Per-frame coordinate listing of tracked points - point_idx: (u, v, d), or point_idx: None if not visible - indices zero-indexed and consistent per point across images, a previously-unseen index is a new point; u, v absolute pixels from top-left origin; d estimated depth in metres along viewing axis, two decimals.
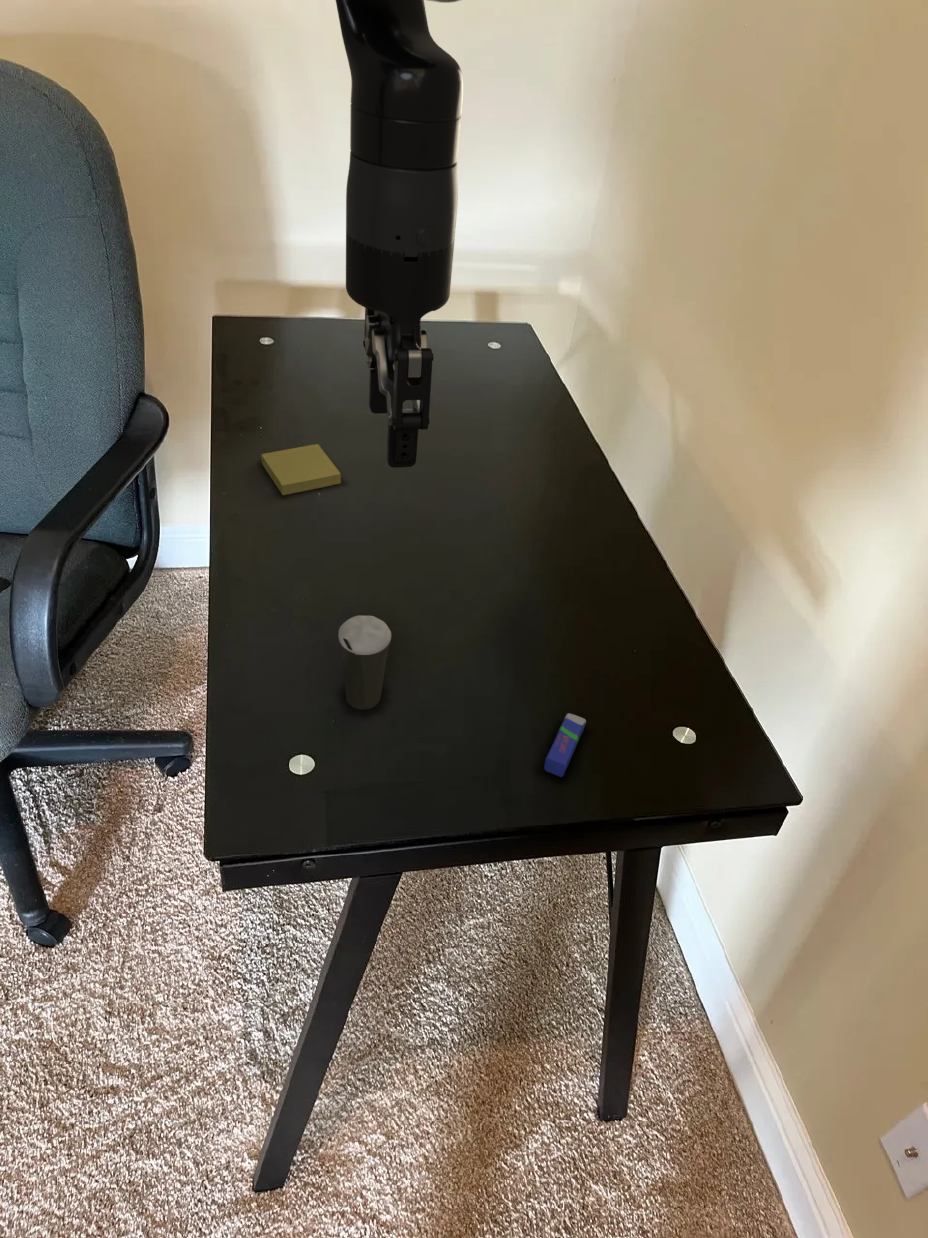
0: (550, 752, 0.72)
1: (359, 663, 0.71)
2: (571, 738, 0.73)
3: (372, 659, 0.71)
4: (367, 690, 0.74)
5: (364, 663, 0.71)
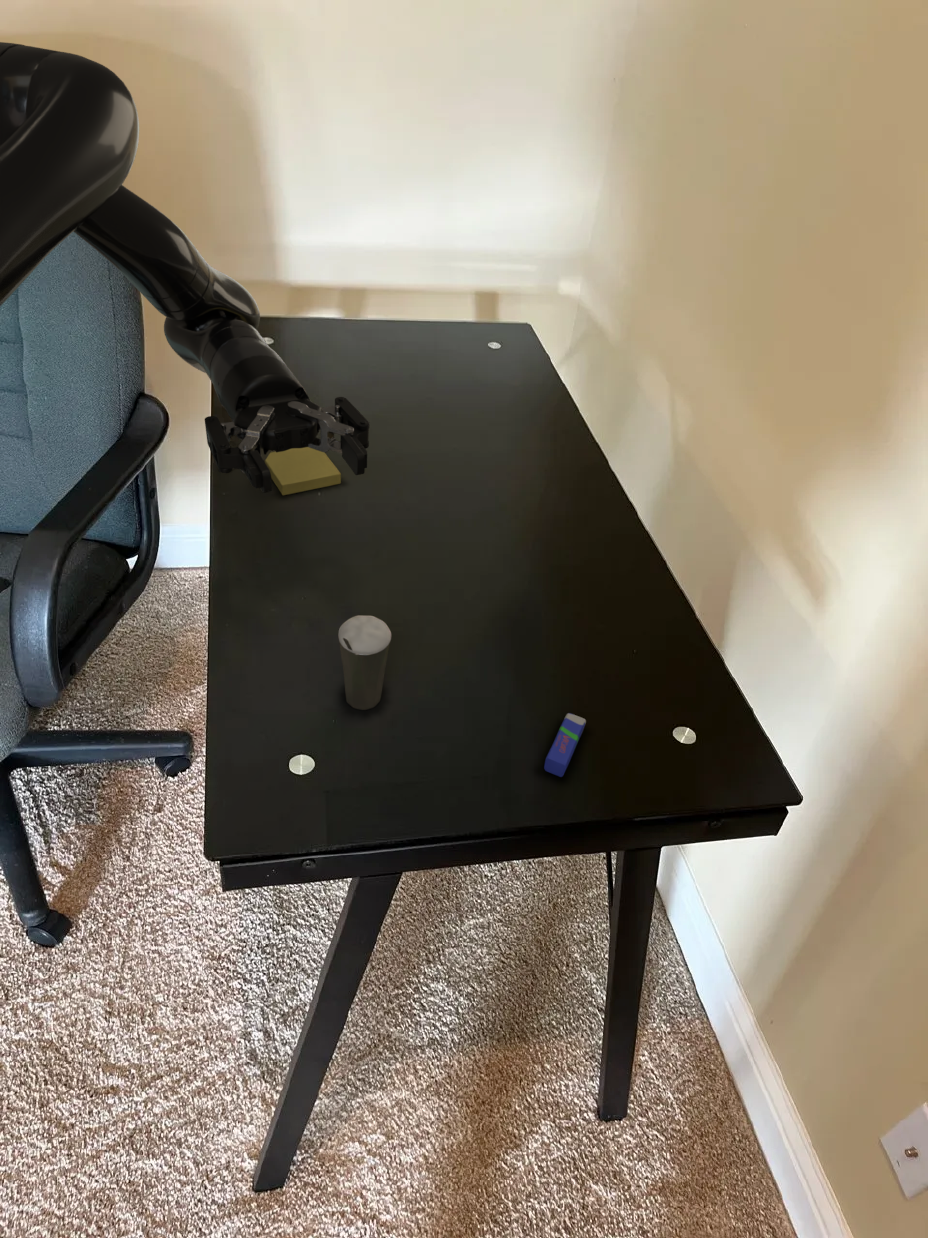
0: (550, 752, 0.72)
1: (359, 663, 0.71)
2: (571, 738, 0.73)
3: (372, 659, 0.71)
4: (367, 690, 0.74)
5: (364, 663, 0.71)
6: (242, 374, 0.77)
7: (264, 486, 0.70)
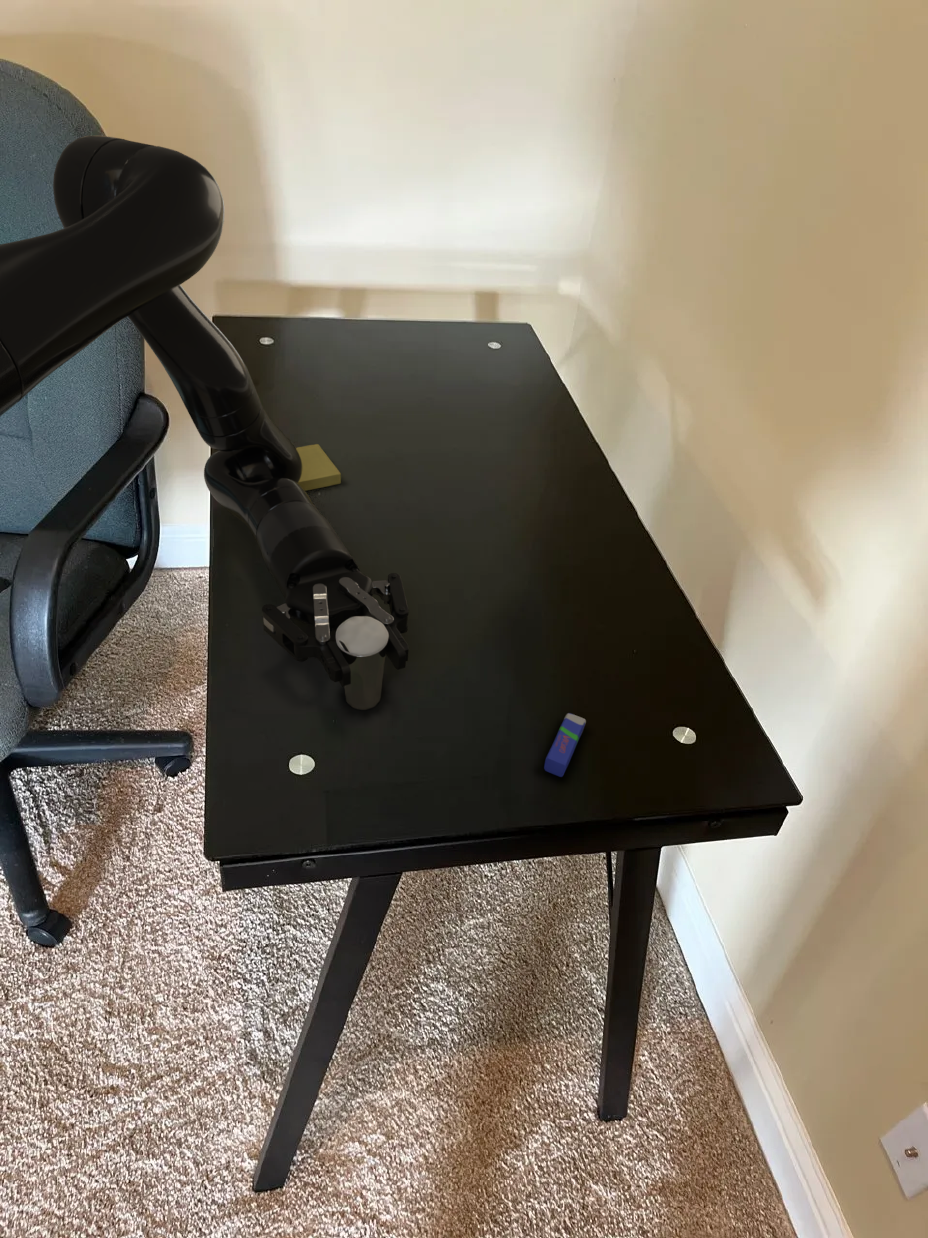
0: (550, 752, 0.72)
1: (357, 665, 0.71)
2: (571, 738, 0.73)
3: (370, 660, 0.71)
4: (366, 691, 0.74)
5: (362, 664, 0.71)
6: (292, 549, 0.77)
7: (343, 681, 0.70)
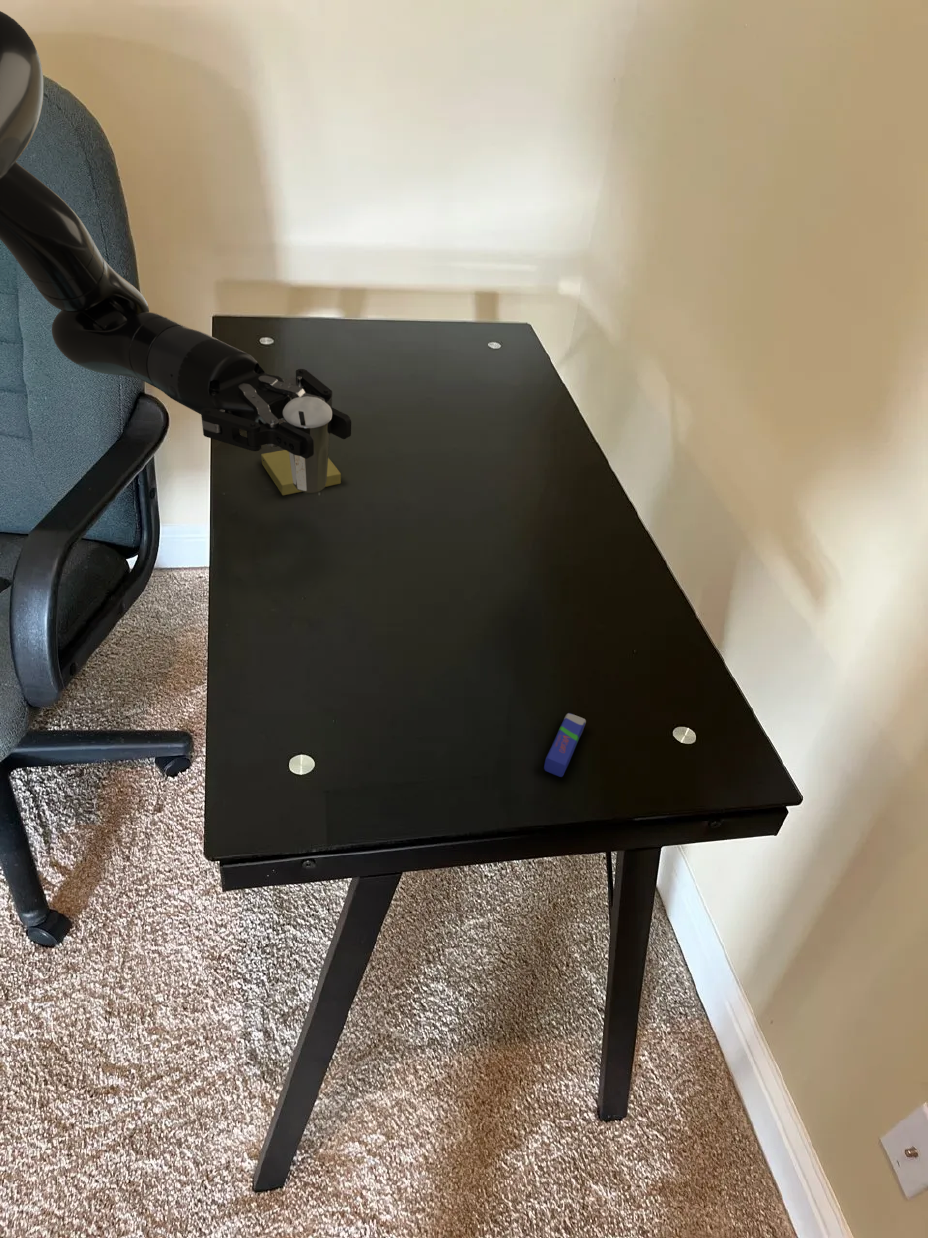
0: (550, 752, 0.72)
1: None
2: (571, 738, 0.73)
3: (323, 431, 0.77)
4: (319, 468, 0.80)
5: (317, 437, 0.77)
6: (203, 360, 0.79)
7: (308, 452, 0.76)
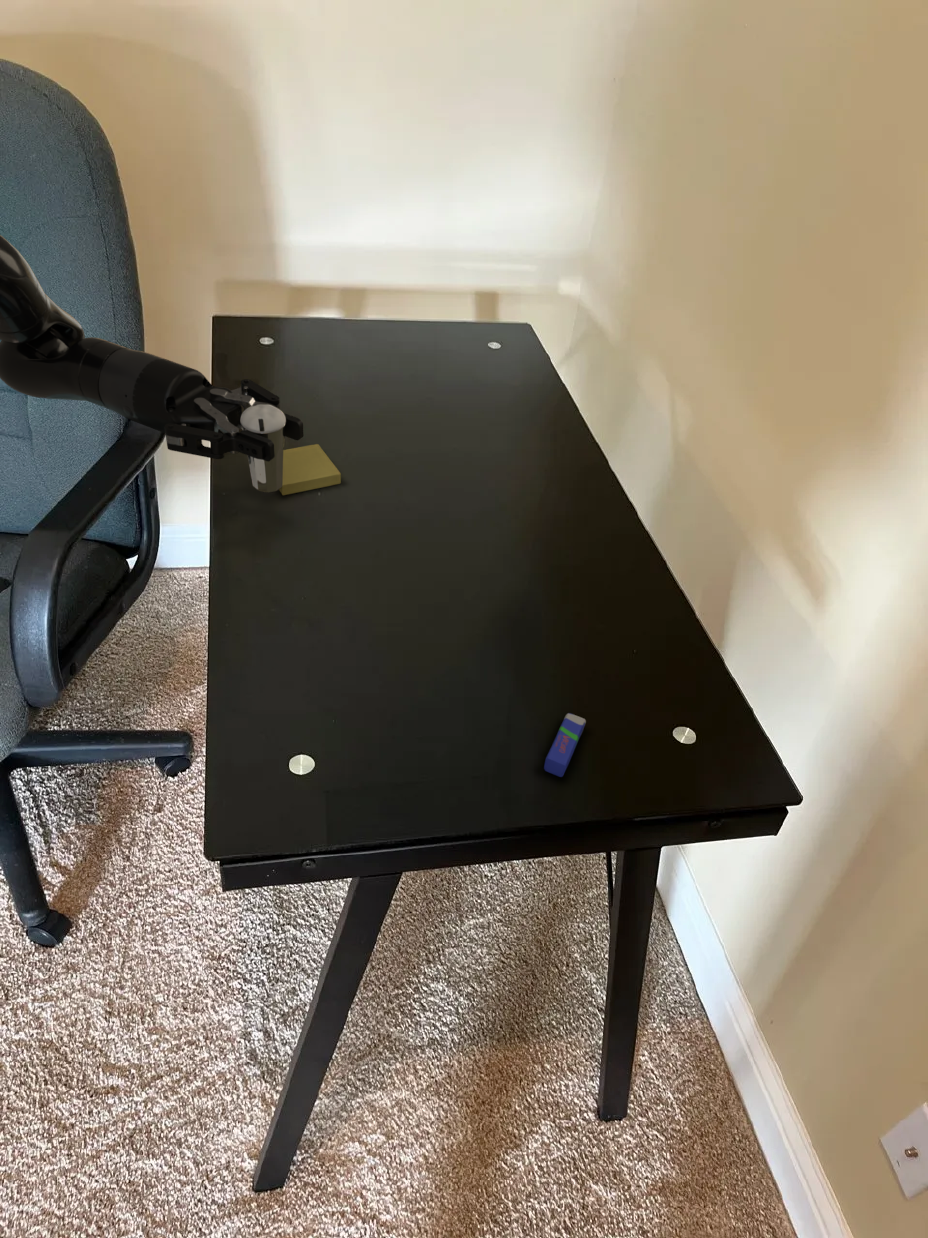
0: (550, 752, 0.72)
1: None
2: (571, 738, 0.73)
3: (280, 435, 0.85)
4: (277, 469, 0.88)
5: (274, 440, 0.85)
6: (156, 379, 0.85)
7: (270, 455, 0.83)
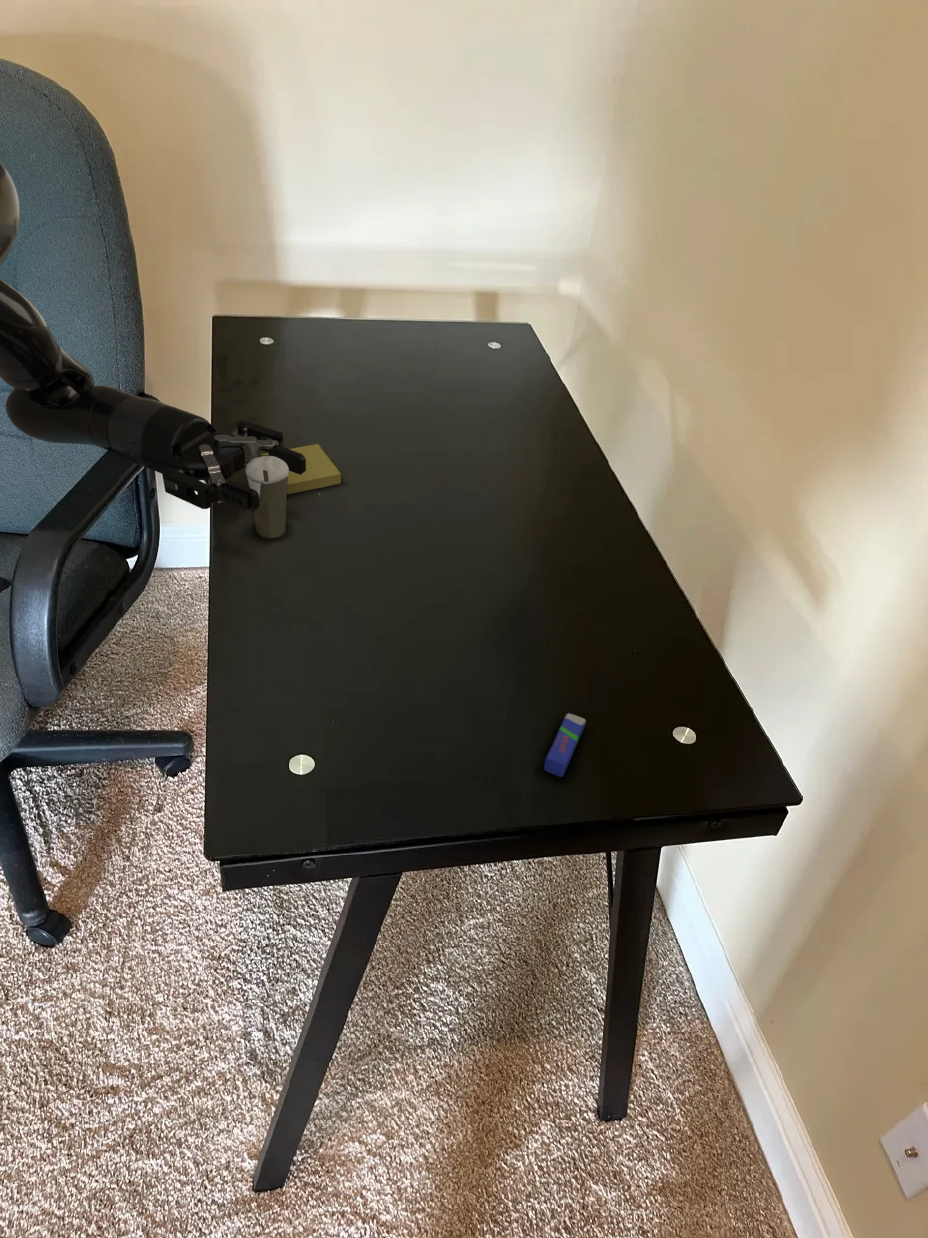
0: (550, 752, 0.72)
1: (274, 491, 0.89)
2: (571, 738, 0.73)
3: (283, 484, 0.89)
4: (280, 516, 0.92)
5: (278, 490, 0.89)
6: (163, 427, 0.89)
7: (255, 504, 0.86)
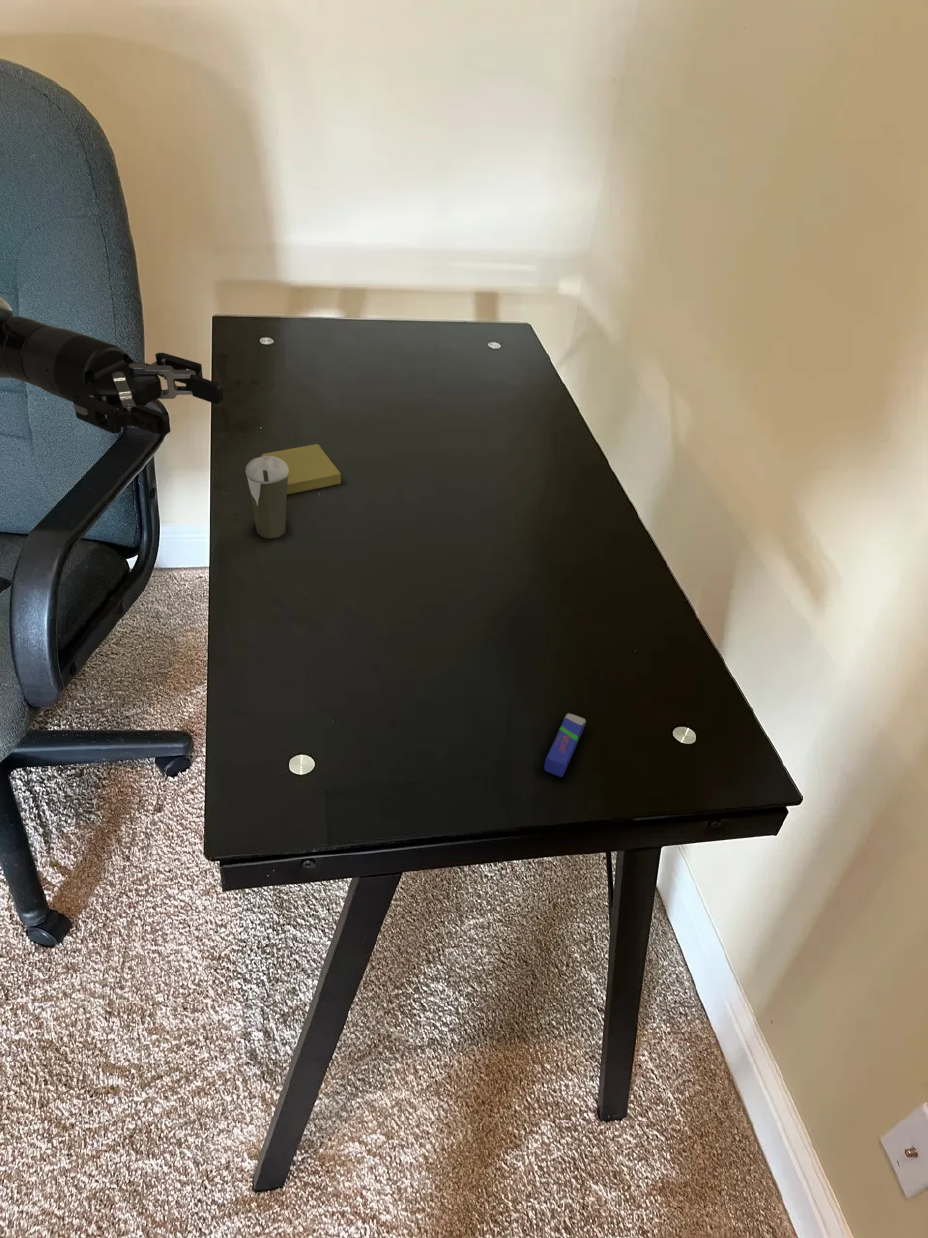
0: (550, 752, 0.72)
1: (274, 491, 0.89)
2: (571, 738, 0.73)
3: (283, 484, 0.89)
4: (280, 516, 0.92)
5: (278, 490, 0.89)
6: (75, 354, 0.89)
7: (165, 428, 0.85)
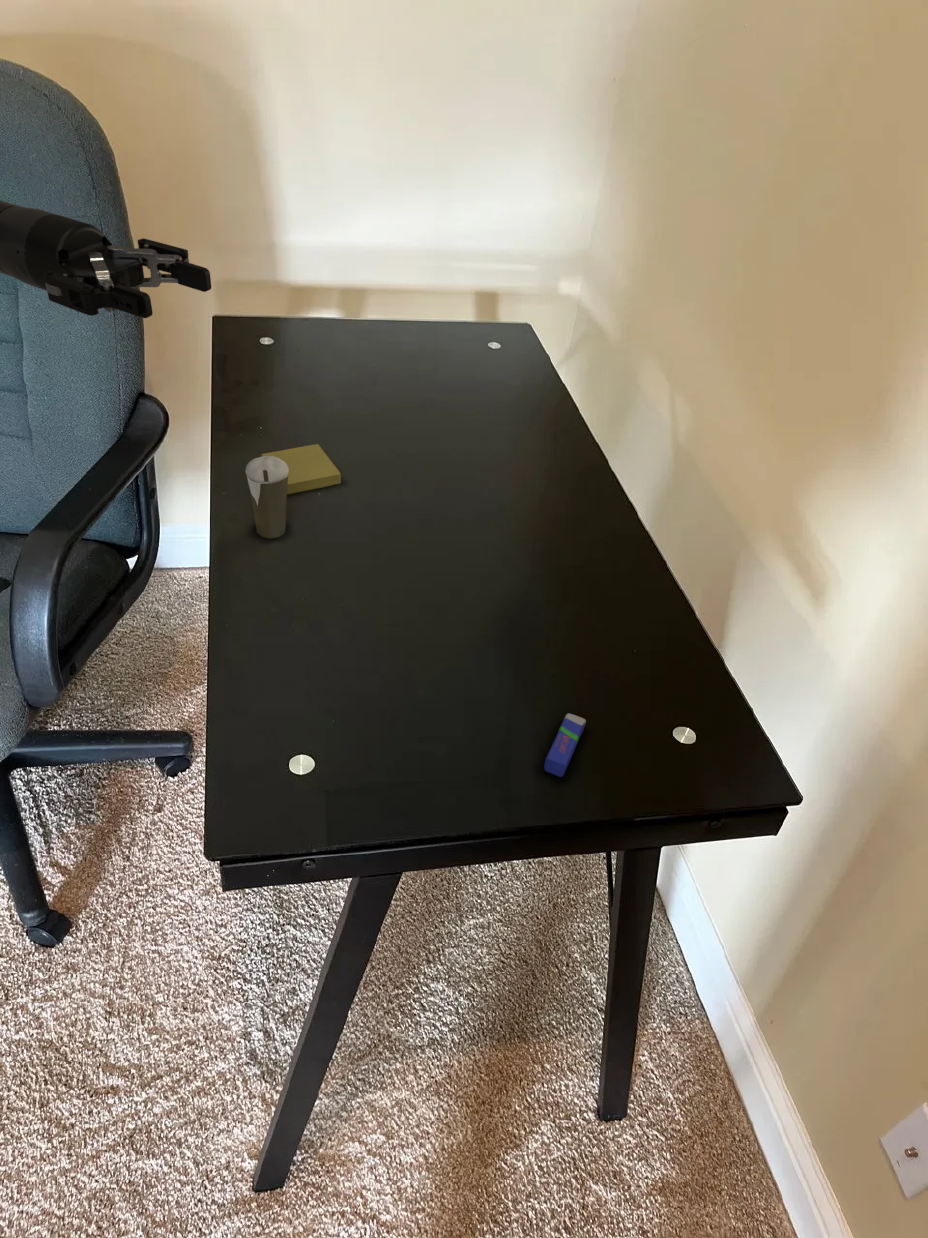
0: (550, 752, 0.72)
1: (274, 491, 0.89)
2: (571, 738, 0.73)
3: (283, 484, 0.89)
4: (280, 516, 0.92)
5: (278, 490, 0.89)
6: (48, 231, 0.80)
7: (147, 310, 0.77)
